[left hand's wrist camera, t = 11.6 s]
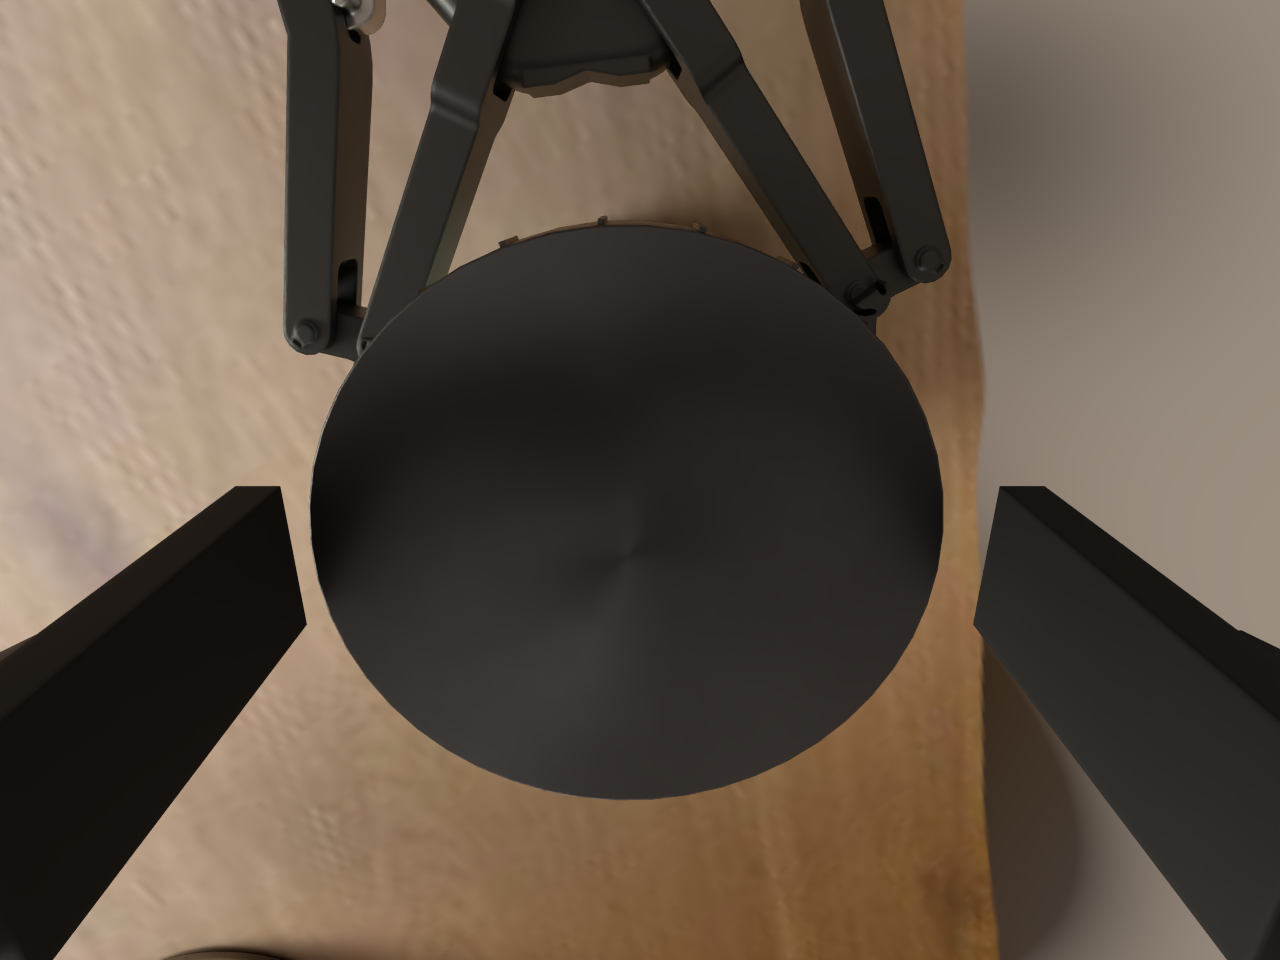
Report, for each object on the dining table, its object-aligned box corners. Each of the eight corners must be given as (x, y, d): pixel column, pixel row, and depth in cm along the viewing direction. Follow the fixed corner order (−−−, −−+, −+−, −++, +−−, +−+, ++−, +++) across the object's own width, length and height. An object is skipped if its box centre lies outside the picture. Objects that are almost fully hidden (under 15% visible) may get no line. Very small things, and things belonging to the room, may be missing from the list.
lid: (929, 685, 17) (966, 748, 15) (444, 772, 18) (421, 843, 16) (881, 151, 13) (924, 144, 11) (256, 295, 14) (194, 311, 12)
